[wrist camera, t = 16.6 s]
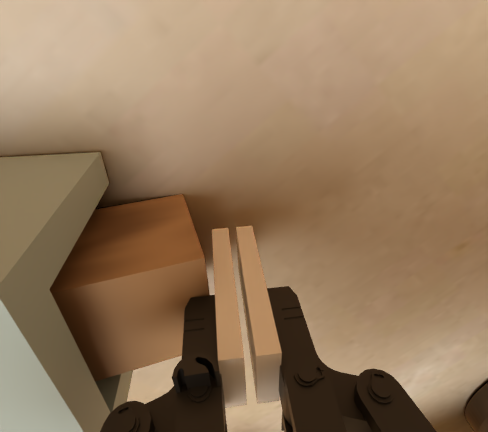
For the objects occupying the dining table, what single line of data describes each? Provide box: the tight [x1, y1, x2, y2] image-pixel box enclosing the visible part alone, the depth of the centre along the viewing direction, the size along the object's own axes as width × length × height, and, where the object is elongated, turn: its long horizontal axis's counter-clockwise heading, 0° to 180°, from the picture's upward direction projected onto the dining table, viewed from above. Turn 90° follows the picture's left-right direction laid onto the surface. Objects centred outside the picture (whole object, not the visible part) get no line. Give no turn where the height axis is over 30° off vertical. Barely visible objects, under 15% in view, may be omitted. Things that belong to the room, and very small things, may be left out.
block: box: [0, 152, 133, 432], centre depth 12 cm, size 8×10×8 cm
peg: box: [49, 194, 210, 381], centre depth 13 cm, size 9×5×5 cm, turn 91°
